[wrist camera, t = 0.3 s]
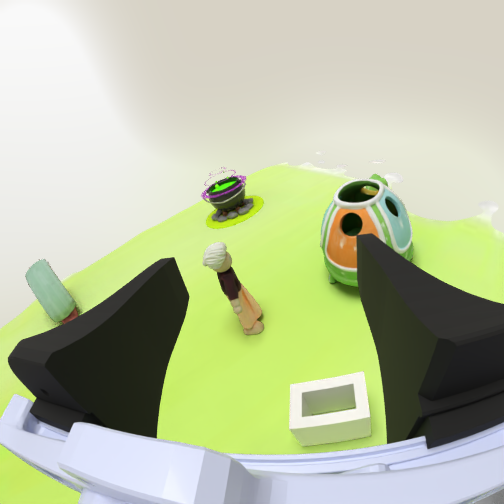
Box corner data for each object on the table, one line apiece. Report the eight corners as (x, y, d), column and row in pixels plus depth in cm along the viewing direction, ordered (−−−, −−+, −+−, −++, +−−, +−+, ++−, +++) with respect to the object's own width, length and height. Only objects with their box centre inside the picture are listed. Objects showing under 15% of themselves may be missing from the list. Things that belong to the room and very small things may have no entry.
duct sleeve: (366, 396, 25) (363, 371, 22) (371, 435, 21) (370, 416, 19) (302, 407, 27) (290, 384, 24) (302, 446, 23) (289, 429, 20)
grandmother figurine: (276, 329, 37) (238, 249, 30) (249, 345, 36) (205, 267, 30) (252, 299, 43) (217, 226, 37) (229, 312, 43) (189, 241, 36)
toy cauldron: (199, 235, 68) (178, 194, 63) (213, 206, 81) (197, 170, 75) (261, 218, 64) (243, 172, 58) (266, 191, 76) (251, 152, 71)
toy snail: (86, 313, 57) (49, 265, 50) (63, 335, 53) (24, 287, 46) (66, 287, 75) (40, 249, 68) (48, 303, 71) (21, 266, 64)
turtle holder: (421, 224, 43) (415, 155, 37) (403, 307, 32) (399, 221, 26) (353, 221, 50) (339, 158, 44) (313, 294, 40) (289, 218, 33)
